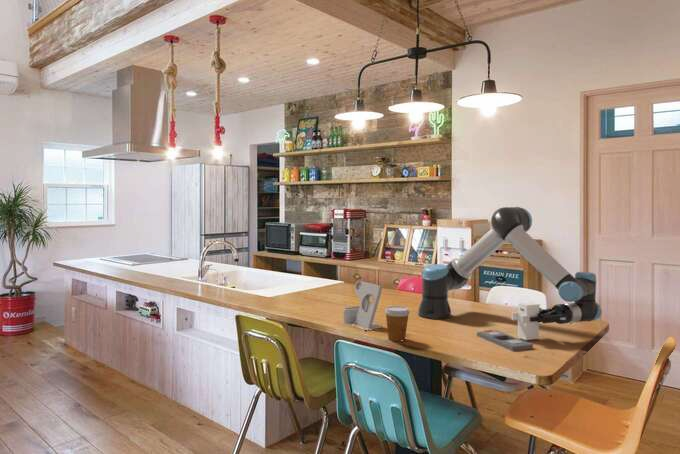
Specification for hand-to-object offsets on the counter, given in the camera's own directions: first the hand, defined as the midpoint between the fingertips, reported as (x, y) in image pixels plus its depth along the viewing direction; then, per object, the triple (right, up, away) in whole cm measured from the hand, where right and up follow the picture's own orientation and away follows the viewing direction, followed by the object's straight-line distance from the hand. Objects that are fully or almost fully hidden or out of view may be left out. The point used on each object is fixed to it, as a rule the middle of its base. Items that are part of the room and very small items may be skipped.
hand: (517, 317), depth 181 cm
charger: (+5, -8, +2) cm, 10 cm away
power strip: (-6, -10, -1) cm, 12 cm away
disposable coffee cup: (-44, -9, +6) cm, 46 cm away
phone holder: (-57, -8, +26) cm, 63 cm away
